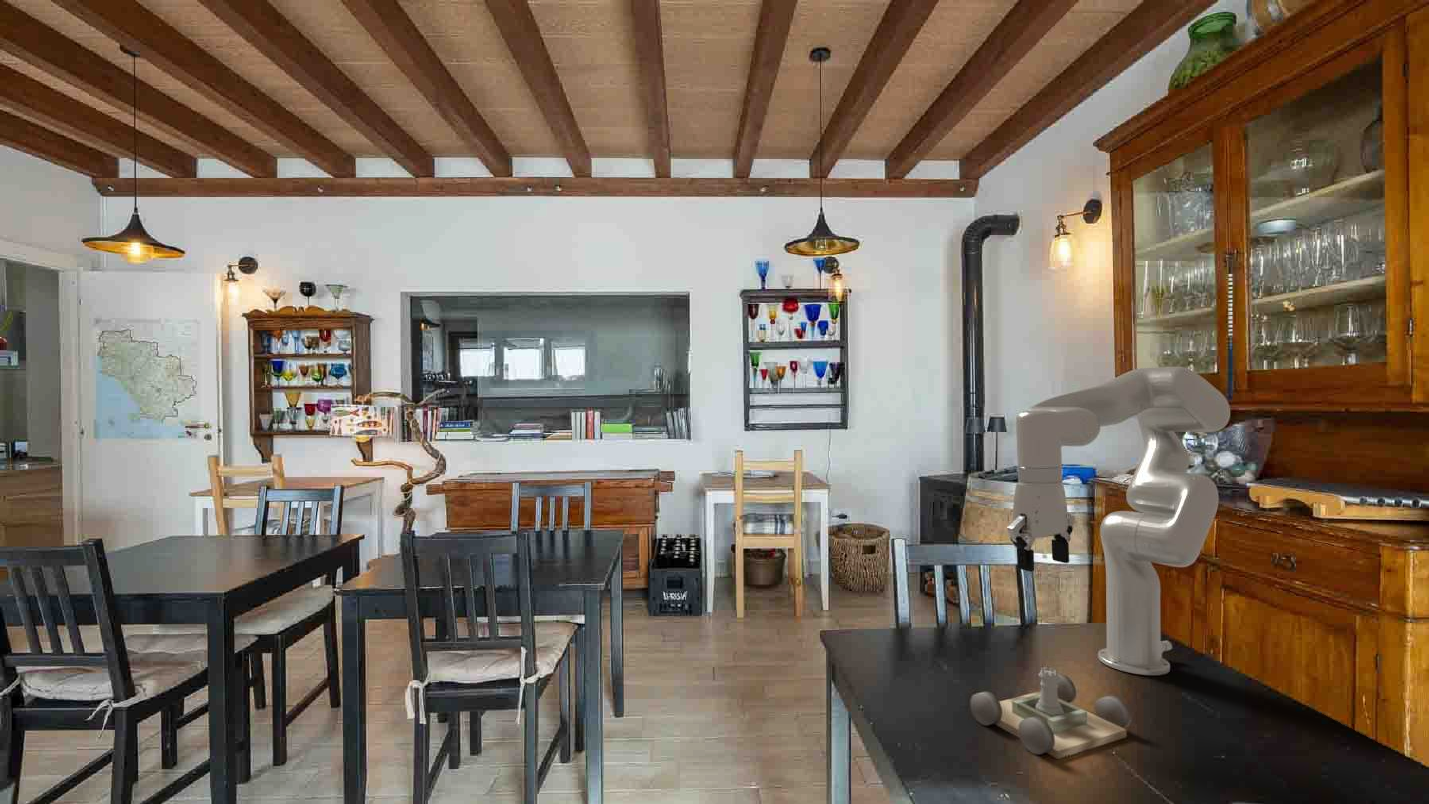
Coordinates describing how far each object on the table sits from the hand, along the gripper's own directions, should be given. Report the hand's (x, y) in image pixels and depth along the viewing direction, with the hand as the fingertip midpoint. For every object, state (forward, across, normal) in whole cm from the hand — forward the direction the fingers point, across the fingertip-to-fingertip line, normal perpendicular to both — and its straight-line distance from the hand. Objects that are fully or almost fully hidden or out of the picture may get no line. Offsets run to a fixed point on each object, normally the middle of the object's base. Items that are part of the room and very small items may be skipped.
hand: (1043, 565), depth 124 cm
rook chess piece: (+22, +12, +9) cm, 27 cm away
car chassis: (+23, +12, +9) cm, 28 cm away
